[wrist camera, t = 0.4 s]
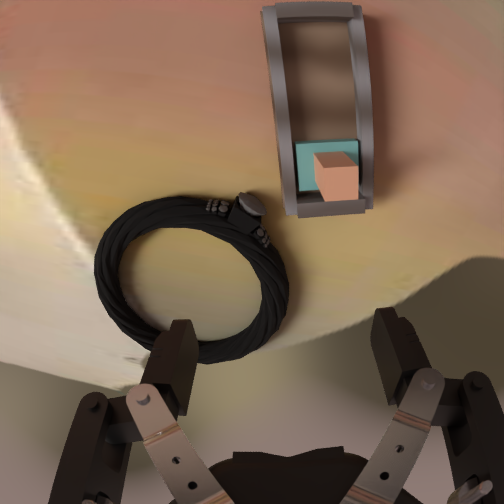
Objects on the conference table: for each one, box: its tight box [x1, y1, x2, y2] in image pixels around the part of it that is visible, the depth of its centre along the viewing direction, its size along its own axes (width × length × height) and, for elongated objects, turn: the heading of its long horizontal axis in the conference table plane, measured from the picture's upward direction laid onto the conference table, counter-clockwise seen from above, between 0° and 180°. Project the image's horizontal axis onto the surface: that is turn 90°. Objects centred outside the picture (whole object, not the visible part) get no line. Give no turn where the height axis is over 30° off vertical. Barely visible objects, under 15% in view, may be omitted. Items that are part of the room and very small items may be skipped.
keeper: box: [294, 138, 359, 202], centre depth 29 cm, size 5×6×8 cm
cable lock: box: [94, 192, 289, 364], centre depth 41 cm, size 28×4×30 cm
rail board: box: [260, 2, 374, 218], centre depth 29 cm, size 22×10×4 cm, turn 7°
